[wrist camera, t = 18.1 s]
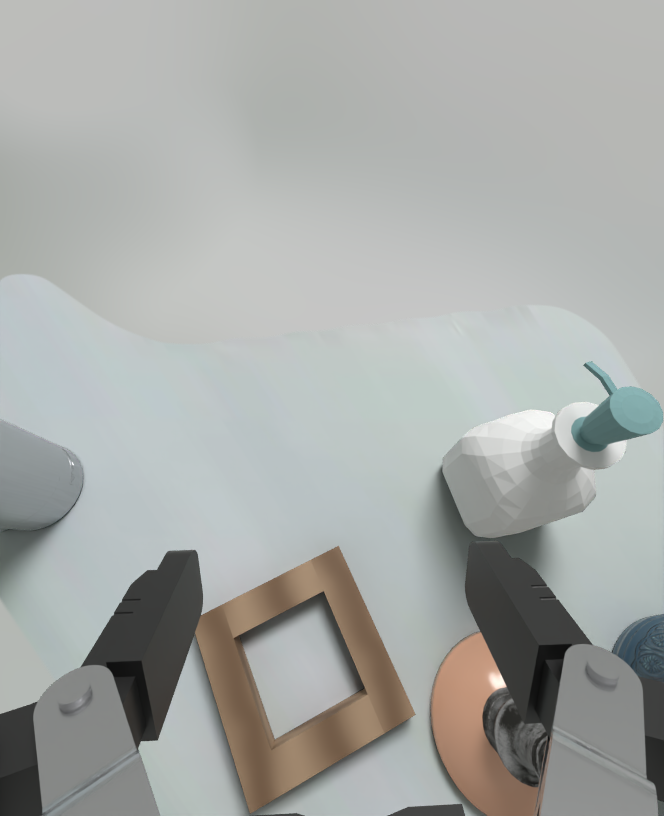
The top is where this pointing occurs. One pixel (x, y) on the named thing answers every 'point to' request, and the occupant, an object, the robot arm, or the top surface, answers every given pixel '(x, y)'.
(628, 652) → the canister
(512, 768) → the salt shaker
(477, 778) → the saucer
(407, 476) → the top surface
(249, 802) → the wooden square frame
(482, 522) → the soap bottle
